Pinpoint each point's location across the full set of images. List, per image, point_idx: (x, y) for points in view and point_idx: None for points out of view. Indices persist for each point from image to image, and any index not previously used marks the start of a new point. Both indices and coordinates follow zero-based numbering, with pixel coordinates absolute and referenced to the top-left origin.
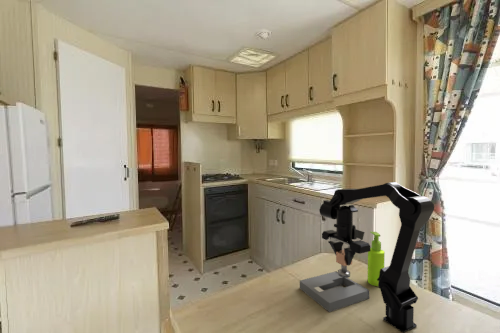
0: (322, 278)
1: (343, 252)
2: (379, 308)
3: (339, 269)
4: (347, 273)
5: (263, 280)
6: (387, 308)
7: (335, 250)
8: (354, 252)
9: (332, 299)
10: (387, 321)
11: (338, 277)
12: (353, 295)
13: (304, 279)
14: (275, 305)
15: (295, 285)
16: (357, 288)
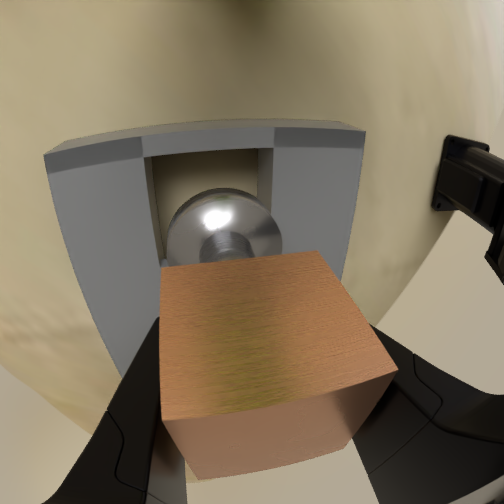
0: (125, 305)
1: (271, 448)
2: (401, 154)
3: (170, 265)
4: (268, 249)
5: (68, 412)
6: (465, 209)
7: (185, 491)
8: (470, 409)
9: None
10: (445, 210)
11: (137, 201)
12: (344, 255)
13: (121, 374)
14: None
15: (105, 363)
16: (317, 183)
